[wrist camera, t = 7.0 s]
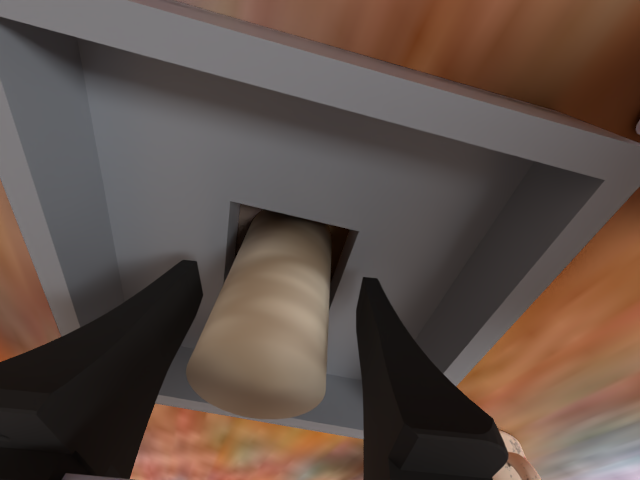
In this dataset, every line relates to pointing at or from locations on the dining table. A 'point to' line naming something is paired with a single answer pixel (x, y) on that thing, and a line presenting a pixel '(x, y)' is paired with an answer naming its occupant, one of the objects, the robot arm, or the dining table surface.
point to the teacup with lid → (515, 462)
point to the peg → (269, 323)
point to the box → (286, 177)
